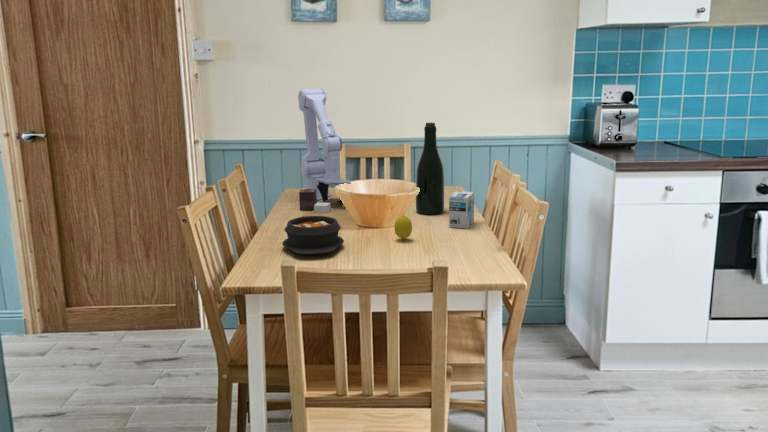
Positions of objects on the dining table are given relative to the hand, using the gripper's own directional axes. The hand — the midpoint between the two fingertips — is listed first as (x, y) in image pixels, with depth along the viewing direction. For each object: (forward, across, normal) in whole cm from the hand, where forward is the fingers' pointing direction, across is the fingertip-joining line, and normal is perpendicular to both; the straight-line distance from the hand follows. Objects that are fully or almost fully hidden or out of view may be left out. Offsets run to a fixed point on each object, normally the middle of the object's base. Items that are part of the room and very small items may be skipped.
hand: (333, 203), depth 252 cm
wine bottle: (+2, +37, +8) cm, 38 cm away
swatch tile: (+2, -6, +2) cm, 7 cm away
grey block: (+2, 0, -8) cm, 8 cm away
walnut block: (+2, 0, 0) cm, 2 cm away
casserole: (+2, +24, -50) cm, 55 cm away
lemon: (+2, +45, -30) cm, 54 cm away
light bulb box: (+2, +54, -4) cm, 54 cm away
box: (+2, -7, -7) cm, 10 cm away
